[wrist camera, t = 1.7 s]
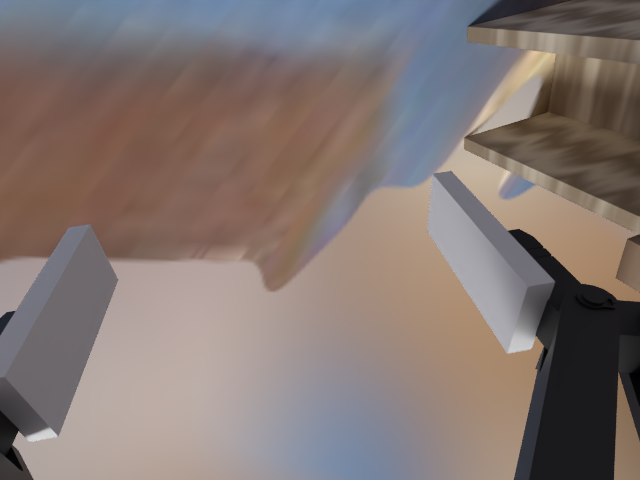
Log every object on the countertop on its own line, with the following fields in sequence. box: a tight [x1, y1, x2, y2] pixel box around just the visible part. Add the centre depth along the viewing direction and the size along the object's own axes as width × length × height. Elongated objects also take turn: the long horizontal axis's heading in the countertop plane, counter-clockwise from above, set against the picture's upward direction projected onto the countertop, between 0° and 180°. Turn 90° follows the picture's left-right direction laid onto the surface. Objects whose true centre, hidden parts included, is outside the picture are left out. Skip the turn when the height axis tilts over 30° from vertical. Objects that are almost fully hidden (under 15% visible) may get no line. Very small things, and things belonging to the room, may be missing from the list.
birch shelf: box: [464, 0, 640, 235], centre depth 36 cm, size 16×14×30 cm
